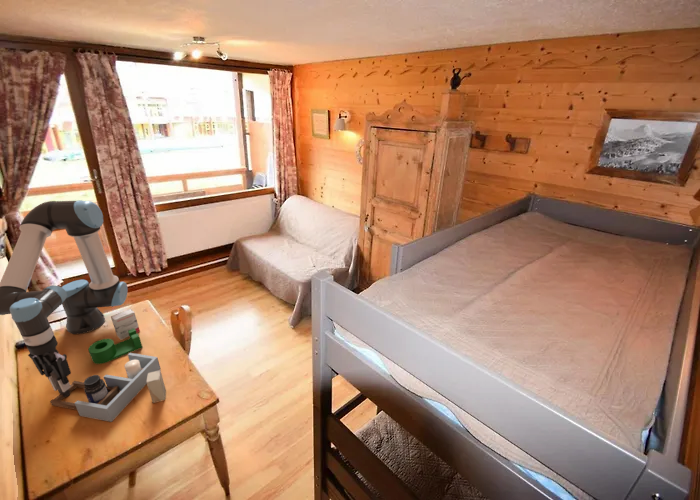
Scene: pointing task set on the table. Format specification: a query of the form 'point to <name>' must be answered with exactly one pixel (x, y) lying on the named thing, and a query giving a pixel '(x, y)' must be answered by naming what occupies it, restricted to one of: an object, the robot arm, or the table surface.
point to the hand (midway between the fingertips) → (62, 388)
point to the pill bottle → (95, 389)
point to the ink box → (125, 323)
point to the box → (156, 386)
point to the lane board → (126, 387)
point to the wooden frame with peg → (57, 401)
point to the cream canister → (132, 368)
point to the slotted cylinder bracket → (114, 348)
